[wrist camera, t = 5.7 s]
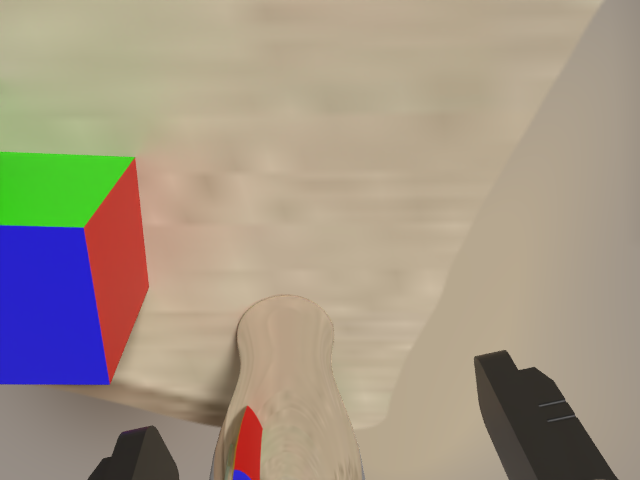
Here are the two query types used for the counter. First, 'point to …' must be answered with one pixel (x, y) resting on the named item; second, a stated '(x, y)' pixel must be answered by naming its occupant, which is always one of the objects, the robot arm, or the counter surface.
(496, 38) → the counter surface
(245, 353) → the beer glass
